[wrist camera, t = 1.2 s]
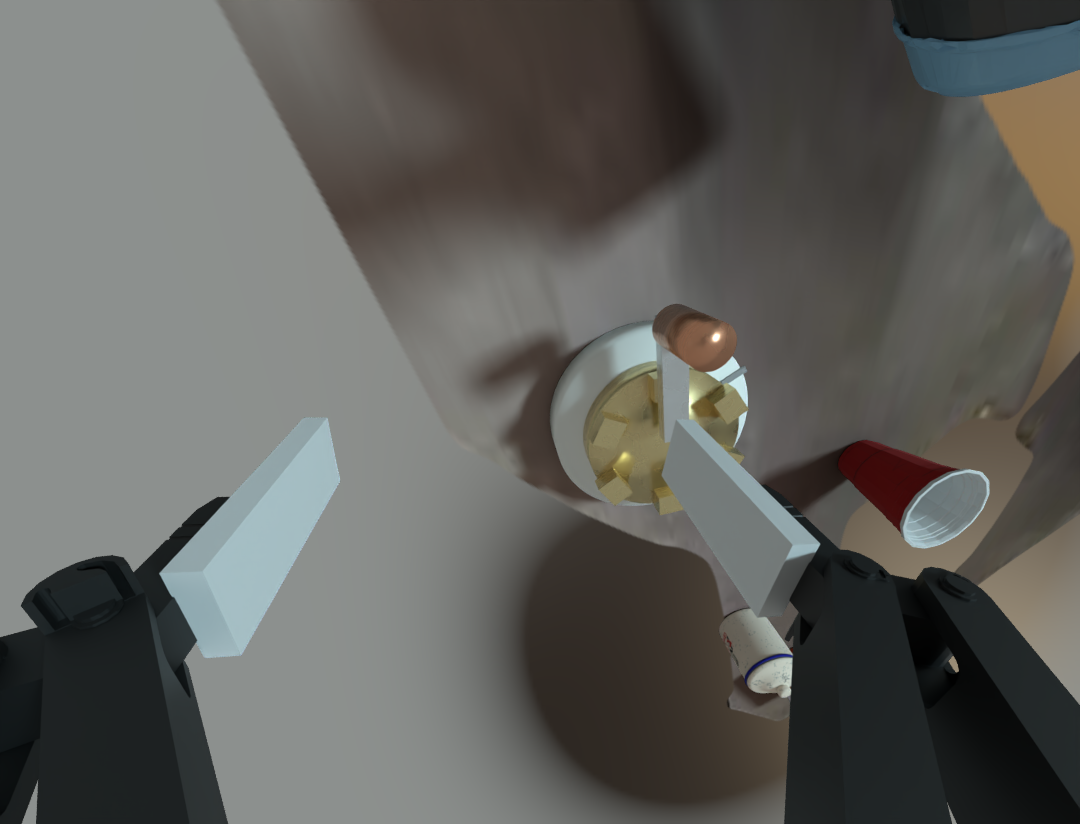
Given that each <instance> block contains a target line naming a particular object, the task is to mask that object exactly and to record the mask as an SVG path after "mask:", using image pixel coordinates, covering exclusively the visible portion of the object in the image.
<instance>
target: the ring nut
mask: <svg viewBox="0 0 1080 824" xmlns="http://www.w3.org/2000/svg"><path fill="white" fill-rule="evenodd" d="M652 334H653V337H654V339H655V341H656V358H657V361H651V362H647V363H643V364H640V365H638V366H635V367H633V368H631V369H629V370H627V371H625V372H623V373H622V374H620V375H619V376H617V377H616V378H615V379H613V380H612V381H611V382H610V383H609V384H608V385H607V386H605V388H604V389H603V390H602V391H601V392H600V393H599V394H598V396H597V397H596V399H595V400H594V402H593V403H592V405H591V407H590V409H589V411H588V414H587V417H586V419H585V424H584V429H583V444H584V449H585V453H586V455H587V458H588V460H589V462H590V465H591V467H592V469H593V471H594V474H595V476H596V477H597V479H596V480H595V483H596V485H597V487H598V490H599V491H600V492H601V493H602V494H603V495H604V496H605V497H606V498H607V499H608V500H609V501H610V502H611V503H613V504H614V505H617V504H618V503H620V502H621V501H622V500H627V501H630V502H635V503H646V504H651V503H654V506H655V508H656V510H657V511H658V513H659V515H663V514H667V513H672V512H676V511H680V510H684V508H683V507H682V505H681V504H680V502H679V501H678V500H677V498H676V497H675V495H674V494H673V492H672V491H671V489H670V488H669V486H668V485H667V483H666V482H665V480H664V479H663V477H662V472H663V468H664V464H665V460H666V456H667V452H668V449H669V445H670V441H671V437H672V433H673V429H674V425H675V421H676V420H695V421H696V422H697V423H698V424H699V425H700V426H701V427H702V428H703V429H704V430H705V431H706V432H707V433H708V434H709V435H710V436H711V437H712V438H713V439H714V440H715V441H716V442H717V443H718V444H719V445H720V446H721V447H722V448H723V449H724V450H725V451H726V452H727V453H728V454H729V455H730V456H731V457H732V458H733V459H734V460H735V461H736V462H738V463H739V464H740V463H741V461H742V460H743V458H744V457H745V456H744V455H743V454H742V453H741V452H739V451H738V450H737V449H736V448H733V447H734V445H735V442H736V438H737V435H738V428H739V416H741V415H742V414H743V413H745V412H746V411H747V410H749V409H748V407H747V406H746V404H745V403H744V401H743V399H742V398H741V396H740V395H739V393H738V392H737V390H736V389H735V388H734V387H732V386H731V385H729V384H728V383H725V384H722V383H721V382H719V381H718V380H716V379H715V378H713V377H712V376H711V375H709V374H708V373H706V372H711V371H715V370H717V369H719V368H721V367H722V366H724V365H725V364H726V363H727V362H728V361H729V360H730V358H731V357H732V355H733V354H734V351H735V349H736V345H737V336H736V333H735V331H734V329H733V328H732V327H731V326H730V325H729V324H727V323H725V322H723V321H721V320H718V319H716V318H713V317H711V316H709V315H706V314H704V313H701V312H699V311H696V310H694V309H692V308H689V307H687V306H684V305H681V304H673V305H669V306H667V307H665V308H664V309H663V310H661V311H660V312H659V313H658V315H655V320H654V322H653V326H652Z"/></svg>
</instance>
